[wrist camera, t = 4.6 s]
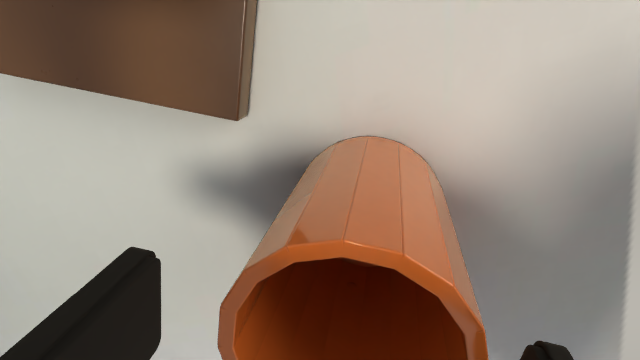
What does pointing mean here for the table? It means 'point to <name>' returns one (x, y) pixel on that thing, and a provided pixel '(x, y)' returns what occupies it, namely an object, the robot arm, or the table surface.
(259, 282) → the mug
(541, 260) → the table surface
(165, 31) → the mug stand
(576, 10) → the table surface
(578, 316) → the table surface
